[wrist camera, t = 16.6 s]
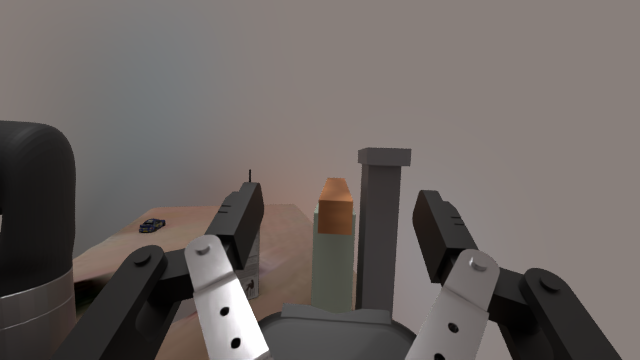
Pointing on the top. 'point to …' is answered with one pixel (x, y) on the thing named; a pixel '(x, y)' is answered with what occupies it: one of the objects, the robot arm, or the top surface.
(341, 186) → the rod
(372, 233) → the tall stand
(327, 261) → the pale green tall block
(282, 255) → the top surface
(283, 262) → the top surface
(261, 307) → the top surface
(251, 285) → the coffee box
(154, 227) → the race car
